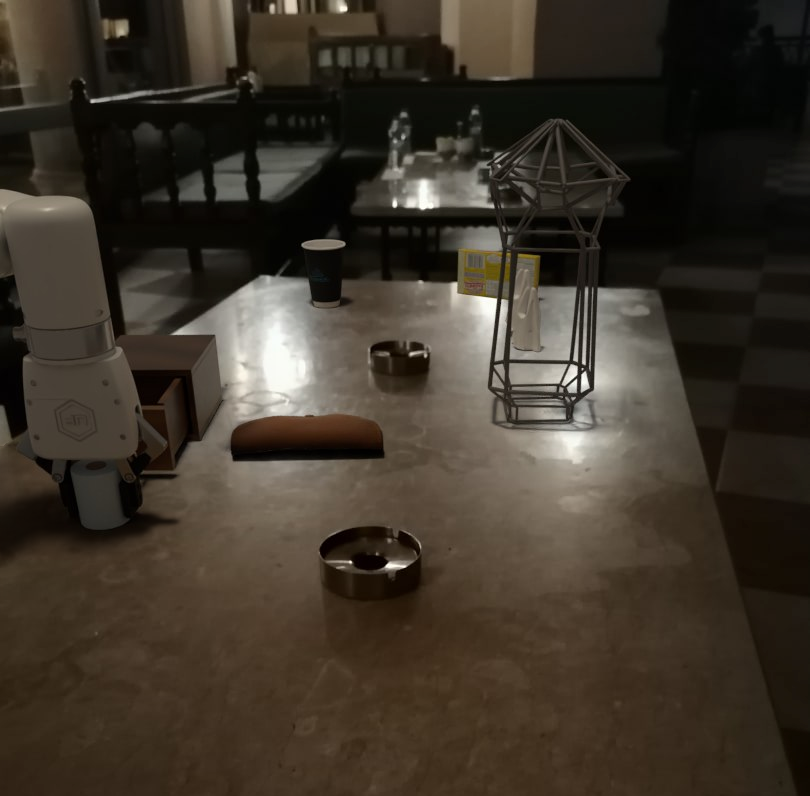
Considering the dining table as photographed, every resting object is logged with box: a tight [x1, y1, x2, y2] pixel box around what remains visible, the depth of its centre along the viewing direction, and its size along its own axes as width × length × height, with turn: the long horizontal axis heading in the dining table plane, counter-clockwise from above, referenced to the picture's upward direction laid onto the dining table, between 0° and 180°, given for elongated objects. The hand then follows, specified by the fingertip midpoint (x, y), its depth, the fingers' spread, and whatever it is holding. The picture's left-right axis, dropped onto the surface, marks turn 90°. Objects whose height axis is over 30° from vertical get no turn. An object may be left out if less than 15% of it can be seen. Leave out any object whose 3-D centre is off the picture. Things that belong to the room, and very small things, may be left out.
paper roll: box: [70, 460, 131, 531], centre depth 92 cm, size 5×5×6 cm
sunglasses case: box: [230, 413, 385, 457], centre depth 109 cm, size 18×7×7 cm
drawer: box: [73, 376, 192, 472], centre depth 104 cm, size 18×11×7 cm, turn 179°
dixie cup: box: [301, 239, 346, 309], centre depth 166 cm, size 8×8×11 cm
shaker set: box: [504, 269, 542, 353], centre depth 144 cm, size 12×4×11 cm, turn 3°
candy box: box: [456, 248, 541, 300], centre depth 170 cm, size 16×2×8 cm, turn 60°
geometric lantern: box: [486, 118, 631, 424], centre depth 110 cm, size 16×16×35 cm
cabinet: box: [115, 334, 223, 442], centre depth 116 cm, size 15×13×9 cm
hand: (104, 510), depth 93 cm, fingers closed on paper roll, 5 cm apart
